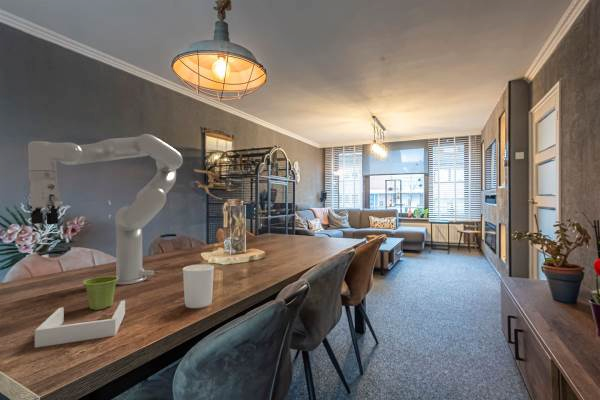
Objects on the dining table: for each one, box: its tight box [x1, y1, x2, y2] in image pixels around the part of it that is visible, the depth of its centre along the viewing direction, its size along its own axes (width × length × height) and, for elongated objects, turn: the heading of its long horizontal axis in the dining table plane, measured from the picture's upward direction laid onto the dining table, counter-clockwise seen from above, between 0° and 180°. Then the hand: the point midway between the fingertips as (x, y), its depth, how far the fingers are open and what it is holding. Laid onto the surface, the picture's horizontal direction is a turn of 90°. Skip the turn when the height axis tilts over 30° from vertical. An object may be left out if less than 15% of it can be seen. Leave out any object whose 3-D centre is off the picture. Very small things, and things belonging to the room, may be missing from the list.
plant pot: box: [82, 275, 118, 311], centre depth 94 cm, size 9×9×9 cm
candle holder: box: [182, 263, 215, 309], centre depth 97 cm, size 10×10×12 cm
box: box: [34, 299, 126, 348], centre depth 78 cm, size 16×16×4 cm
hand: (44, 223), depth 106 cm, fingers open, 9 cm apart
